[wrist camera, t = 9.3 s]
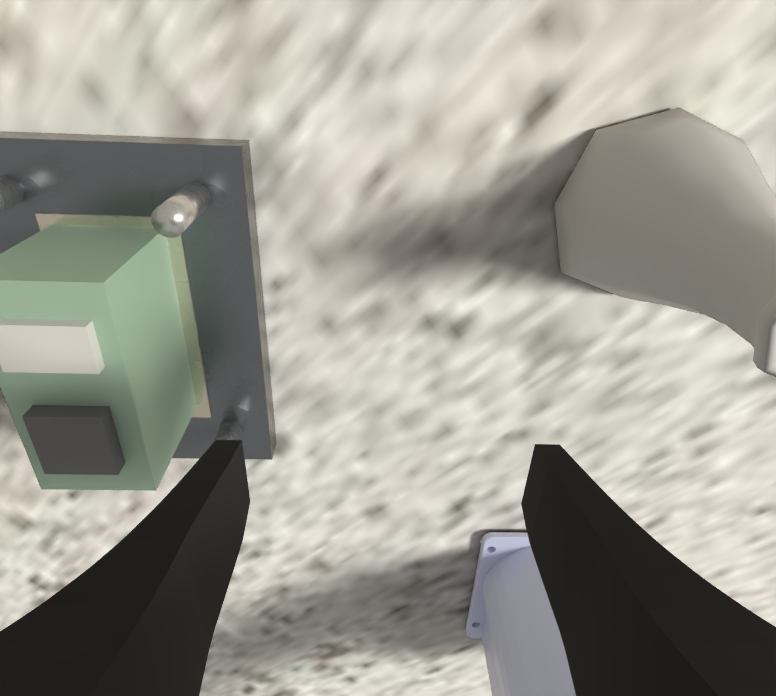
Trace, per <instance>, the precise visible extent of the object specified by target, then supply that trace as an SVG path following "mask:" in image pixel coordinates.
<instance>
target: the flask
mask: <svg viewBox="0 0 776 696" xmlns="http://www.w3.org/2000/svg"><path fill="white" fill-rule="evenodd" d="M554 209H555V218H556V228H557V238H558V248H559V258H560V268H561V273H563V274H566V275H568V276H571V277H573V278H576V279H578V280H581V281H583V282H586V283H588V284H591V285H593V286H596V287H598V288H600V289H603V290H605V291H608V292H610V293H613V294H615V295H618V296H621V297H625V298H629V299H634V300H639V301H645V302H651V303H656V304H662V305H667V306H671V307H675V308H679V309H683V310H687V311H691V312H696V313H700V314H704V315H707V316H709V317H711V318H713V319H715V320H717V321H719V322H721V323H724V324H726V325H727V326H728V327H730V328H731V329H732V330H733V331H735V332H736V333H737V334H739V335H740V336H741V337H742V338H744V339H745V340H746V341H748V342H749V343H750V344H751V345H752V346H753V347H754V356H753V361H754V363H755V364H756V366H757V368H759V369H760V370H762V371H763V372H765V373H767V374H770V375H773V376H775V377H776V195H775V194H774V192H773V191H772V189H771V188H770V186H769V185H768V183H767V181H766V179H765V177H764V176H763V174H762V172H761V170H760V168H759V166H758V164H757V163H756V161H755V159H754V157H753V155H752V153H751V151H750V150H749V148H748V147H747V145H746V144H745V142H744V141H743V140H742V139H740V138H738V137H736V136H734V135H732V134H730V133H728V132H726V131H724V130H722V129H720V128H718V127H716V126H714V125H712V124H710V123H708V122H706V121H705V120H703V119H701V118H699V117H697V116H695V115H693V114H691V113H689V112H687V111H685V110H683V109H681V108H675V109H672V110H668V111H664V112H660V113H657V114H653V115H649V116H646V117H642V118H638V119H635V120H631V121H627V122H624V123H620V124H616V125H613V126H609V127H605V128H602V129H598V130H596V131H595V133H594V135H593V136H592V138H591V140H590V142H589V144H588V145H587V147H586V149H585V151H584V152H583V154H582V156H581V158H580V160H579V161H578V163H577V165H576V167H575V168H574V170H573V172H572V174H571V176H570V177H569V179H568V181H567V183H566V184H565V186H564V188H563V190H562V192H561V193H560V195H559V197H558V199H557V200H556V202H555V204H554Z"/></svg>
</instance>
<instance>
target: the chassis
mask: <svg viewBox="0 0 776 696" xmlns="http://www.w3.org/2000/svg"><path fill="white" fill-rule="evenodd" d="M50 225H84V226H119V227H153V228H154V229H155V230H156V231H157V232H158V233H159V234H160V235H162V236H164V237H167V243H168V248H169V254H170V259H171V265H172V270H173V276H174V281H175V287H176V292H177V298H178V304H179V309H180V315H181V320H182V326H183V331H184V337H185V342H186V348H187V354H188V359H189V365H190V370H191V376H192V381H193V387H194V392H195V398H196V403H197V407H196V409H195V411H194V413H193V416H192V418H191V420H190V422H189V424H188V426H187V428H186V430H185V432H184V434H183V436H182V438H181V440H180V442H179V444H178V446H177V448H176V451H175V453H174V455H173V457H172V458H201V456H202V455H203V454H204V453H205V452H206V451H207V449H208V448H209V447H210V446H211V445H212V443H214V442H215V441H216V440H242V444H243V452H244V459H272V458H273V454H274V450H275V446H276V434H275V423H274V412H273V401H272V390H271V379H270V368H269V357H268V346H267V335H266V324H265V313H264V302H263V291H262V280H261V269H260V258H259V247H258V236H257V225H256V214H255V203H254V192H253V181H252V170H251V159H250V148H249V140H225V139H196V138H168V137H139V136H111V135H83V134H54V133H26V132H0V254H1V253H3V252H5V251H6V250H8V249H10V248H12V247H13V246H15V245H17V244H19V243H20V242H22V241H24V240H26V239H27V238H29V237H31V236H33V235H34V234H36V233H38V232H40V231H41V230H43V229H45V228H47V227H48V226H50Z"/></svg>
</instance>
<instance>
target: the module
mask: <svg viewBox="0 0 776 696" xmlns="http://www.w3.org/2000/svg"><path fill="white" fill-rule="evenodd" d="M0 388H1V391H2V393H3V395H4V398H5V400H6V403H7V405H8V408H9V410H10V413H11V415H12V418H13V420H14V423H15V425H16V428H17V430H18V433H19V435H20V438H21V440H22V442H23V445H24V447H25V450H26V452H27V455H28V457H29V460H30V462H31V465H32V467H33V470H34V472H35V475H36V477H37V480H38V482H39V485H40V487H41V489H77V490H157V488H158V486H159V483H160V481H161V479H162V477H163V475H164V473H165V471H166V469H167V467H168V465H169V463H170V461H171V459H172V457H173V455H174V453H175V451H176V448H177V446H178V444H179V442H180V440H181V438H182V436H183V434H184V432H185V430H186V428H187V426H188V424H189V422H190V420H191V418H192V416H193V413H194V411H195V409H196V407H197V403H196V398H195V392H194V387H193V381H192V376H191V370H190V365H189V359H188V354H187V348H186V342H185V337H184V331H183V326H182V320H181V315H180V309H179V304H178V298H177V292H176V287H175V281H174V276H173V270H172V265H171V259H170V254H169V248H168V243H167V237H164V236H162V235H160V234H159V233H158V232H157V231H156V230H155V229H154V228H153V227H119V226H84V225H50V226H48V227H47V228H45V229H43V230H41V231H40V232H38V233H36V234H34V235H33V236H31V237H29V238H27V239H26V240H24V241H22V242H20V243H19V244H17V245H15V246H13V247H12V248H10V249H8V250H6V251H5V252H3V253H1V254H0Z"/></svg>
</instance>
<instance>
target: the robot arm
mask: <svg viewBox="0 0 776 696" xmlns="http://www.w3.org/2000/svg"><path fill="white" fill-rule="evenodd" d="M249 504H250V497H249V490H248V482H247V475H246V467H245V459H244V452H243V444H242V440H216V441H215V442H214V443H212V445H211V446H210V447H209V448H208V449H207V451H206V452H205V453H204V454H203V455H202V456H201V458H200V459H199V460H198V461H197V462H196V464H195V465H194V466H193V467H192V468H191V469H190V470H189V472H188V473H187V474H186V475H185V476H184V477H183V478H182V480H181V481H180V482H179V483H178V484H177V485H176V486H175V487H174V488H173V489H172V490H171V492H170V493H169V494H168V495H167V496H166V497H165V498H164V499H163V500H162V501H161V502H160V503H159V504H158V505H157V506H156V507H155V509H154V510H152V511H151V512H150V513H149V514H148V515H147V516H146V517H145V518H144V519H143V520H142V521H141V522H140V523H139V524H138V525H137V526H136V527H135V528H134V529H133V530H132V531H131V532H130V533H129V534H128V535H127V536H126V537H125V538H124V539H122V540H121V541H120V542H119V543H118V544H117V545H116V546H115V547H114V548H112V549H111V550H110V551H109V552H108V553H107V554H105V555H104V556H103V557H102V558H101V559H100V560H98V561H97V562H96V563H95V564H94V565H92V566H91V567H90V568H89V569H87V570H86V571H85V572H84V573H82V574H81V575H80V576H79V577H77V578H76V579H75V580H73V581H72V582H71V583H69V584H68V585H67V586H65V587H64V588H63V589H61V590H60V591H59V592H57V593H56V594H55V595H53V596H52V597H51V598H49V599H48V600H47V601H45V602H44V603H42V604H41V605H40V606H38V607H37V608H35V609H34V610H32V611H31V612H29V613H28V614H26V615H25V616H23V617H22V618H20V619H19V620H17V621H16V622H14V623H13V624H11V625H10V626H8V627H7V628H5V629H3V630H2V631H0V696H199V693H200V688H201V684H202V679H203V675H204V670H205V665H206V661H207V656H208V652H209V648H210V644H211V640H212V637H213V633H214V629H215V626H216V623H217V620H218V617H219V614H220V610H221V607H222V604H223V601H224V598H225V595H226V592H227V588H228V585H229V582H230V579H231V576H232V573H233V570H234V566H235V563H236V560H237V557H238V554H239V550H240V547H241V544H242V540H243V536H244V531H245V526H246V520H247V515H248V509H249ZM521 504H522V509H523V514H524V519H525V524H526V529H527V533H525V532H490V533H487V534H485V535H484V536H483V538H482V543H481V548H480V554H479V559H478V564H477V570H476V575H475V581H474V586H473V591H472V597H471V602H470V607H469V613H468V618H467V623H466V635H467V637H469V638H473V639H482V640H483V646H484V651H485V657H486V663H487V668H488V674H489V679H490V685H491V690H492V696H776V627H775V626H773V625H772V624H770V623H768V622H767V621H765V620H763V619H762V618H760V617H759V616H757V615H756V614H754V613H753V612H751V611H750V610H748V609H746V608H745V607H743V606H742V605H740V604H739V603H738V602H736V601H735V600H733V599H732V598H730V597H729V596H727V595H726V594H725V593H723V592H722V591H720V590H719V589H717V588H716V587H714V586H713V585H712V584H710V583H709V582H708V581H706V580H705V579H703V578H702V577H701V576H699V575H698V574H697V573H695V572H694V571H693V570H692V569H690V568H689V567H688V566H687V565H685V564H684V563H683V562H681V561H680V560H679V559H678V558H676V557H675V556H674V555H673V554H671V553H670V552H669V551H668V550H666V549H665V548H664V547H663V546H662V545H661V544H659V543H658V542H657V541H656V540H655V539H654V538H652V537H651V536H650V535H649V534H648V533H647V532H646V531H645V530H644V529H642V528H641V527H640V526H639V525H638V524H637V523H636V522H635V521H634V520H633V519H631V518H630V517H629V516H628V515H627V514H626V513H625V512H624V511H623V510H622V509H621V508H620V507H619V506H618V505H617V504H616V503H615V502H614V501H613V500H612V499H611V498H610V497H609V496H608V495H607V494H606V493H605V492H604V491H603V490H602V489H601V488H600V487H599V486H598V485H597V484H596V483H595V482H594V481H593V480H592V479H591V478H590V476H589V475H588V474H587V473H586V472H585V471H584V470H583V469H582V468H581V467H580V466H579V465H578V464H577V463H576V462H575V461H574V459H573V458H572V457H571V456H570V455H569V454H568V453H567V452H566V451H565V450H564V449H563V448H562V447H561V446H560V445H545V444H535V447H534V451H533V456H532V460H531V464H530V469H529V473H528V477H527V482H526V486H525V490H524V495H523V499H522V503H521Z"/></svg>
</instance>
